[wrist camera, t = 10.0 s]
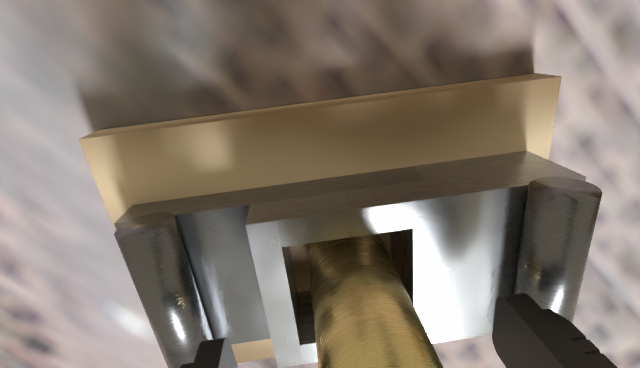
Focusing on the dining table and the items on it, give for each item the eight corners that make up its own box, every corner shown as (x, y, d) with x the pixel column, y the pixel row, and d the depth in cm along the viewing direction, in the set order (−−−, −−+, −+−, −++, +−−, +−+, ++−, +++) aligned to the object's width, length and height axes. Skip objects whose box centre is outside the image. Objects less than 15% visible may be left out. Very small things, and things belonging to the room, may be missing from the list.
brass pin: (302, 217, 14) (322, 461, 6) (378, 207, 14) (502, 432, 6) (311, 279, 15) (339, 553, 7) (381, 269, 16) (487, 527, 7)
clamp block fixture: (100, 129, 14) (-41, 193, 8) (535, 73, 14) (705, 93, 8) (181, 348, 18) (131, 490, 12) (506, 298, 19) (603, 410, 13)
